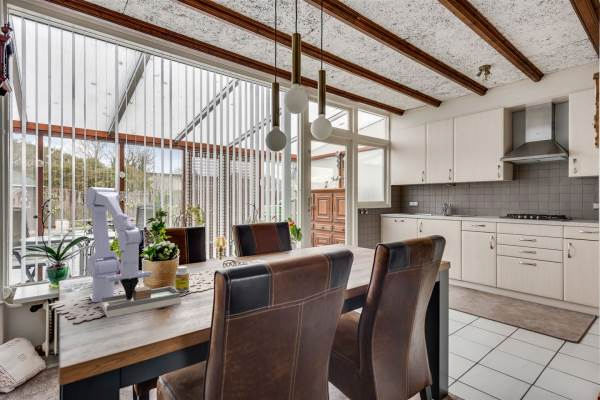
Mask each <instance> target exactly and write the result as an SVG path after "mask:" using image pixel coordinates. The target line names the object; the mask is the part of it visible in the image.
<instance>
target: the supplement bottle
mask: <svg viewBox="0 0 600 400" xmlns="http://www.w3.org/2000/svg"><path fill="white" fill-rule="evenodd" d="M177 270H178V272H177V271H176V272H175V274H176V278H175V279H174V280H175V281H174V283H175V284H174V286H175V287H174V288H175V289H176V290H178V291H179V293H184V292H187V291H189V289H190V288H189V287H190V272H189V271H188V267H187V266H185V265H184V266H182V265H181V266H178V267H177Z"/></svg>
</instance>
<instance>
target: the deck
mask: <svg viewBox="0 0 600 400" xmlns="http://www.w3.org/2000/svg"><path fill="white" fill-rule="evenodd" d="M150 289H151V298H147V299H141V300H136V301H134V300H133V295H132V300H127V299H126V294H125V293H121V294H115V295H113V296H107V297H102V301H100V303H101V304H100V306H101V309H102V311H103V312H104V314H105V316H106V318H107V319H109V318H115V317H118V316H122V315H123V316H124V315H128V314H133V313H139V312H144V311H148V310H152V309H158V308H163V307H164V308H165V307H169V306H173V305H178V304H181V303H182V297H181V292H179V291H178V290H176V289H175V287H174V286H172V285H169V286H163V287H158V288H150Z"/></svg>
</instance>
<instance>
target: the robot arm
mask: <svg viewBox="0 0 600 400" xmlns="http://www.w3.org/2000/svg"><path fill="white" fill-rule="evenodd" d="M84 195H85V197H84V198H85V204H86V209H87V210H88V211H90V214H91V217H90V218H91V225H92V232H93V233H92V234H93V242H94V243H93V244H94V251H95V252H94V253H93V254H91V255H90V256H89V258H87V266H86V267H87V268H86V271H87V274H88V275H89V276H90V277H91V278H92V294H90V295H89V297H90V300H91V302H92V303H98V302H101V301H102V297H107V296H113V295H116V294H115V283H114V281H118V282H120V283H121V285H122V288H123V291H124V294H126V299H127V300H132V295H133V292H134V290H135V288H137V285H138V284H139V279H141V278H142V279H143V278H152V271H151V270H148V271H147V270H145V271H139V255H140V254H139V246H140V244H141V243H142V241H143V232H142V230H141V229H140V228H138V227H136V226H135V225H134V224H133V222H132V221H131V219H130V217H129V216H128V214H126V213H123V210H122V208H121V205H120V203H119V196H120V195H119V191H118V189H117V188H115V187H112V188H111V187H109V188H108V187H94V186H90V187H88V188H87V190H86V192H85V194H84ZM107 211H108V213H109V214H110V215H111V217H112V220H111V224H112V225H113V226H114V229H115V231H116V233H117V237H116V238H117V242H118V249H119V251H120V260H119V258H118V254H117V252H116V253H114V252H113V251H114V250H111V246H110V237H109V235H110V234H109V228H108V220H107ZM107 258H109V259H107ZM119 269H120V274H117V275H116V273H117V272H118V271H119Z"/></svg>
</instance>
